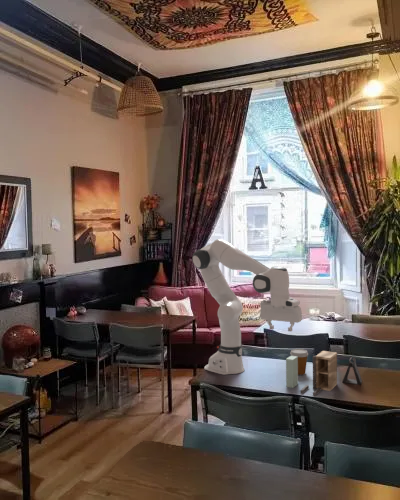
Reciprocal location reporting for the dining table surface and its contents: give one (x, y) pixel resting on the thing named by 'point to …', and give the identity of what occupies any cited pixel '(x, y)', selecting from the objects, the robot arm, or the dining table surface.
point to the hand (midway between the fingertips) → (280, 330)
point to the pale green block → (292, 371)
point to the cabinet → (324, 372)
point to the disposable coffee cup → (300, 359)
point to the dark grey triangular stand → (357, 375)
